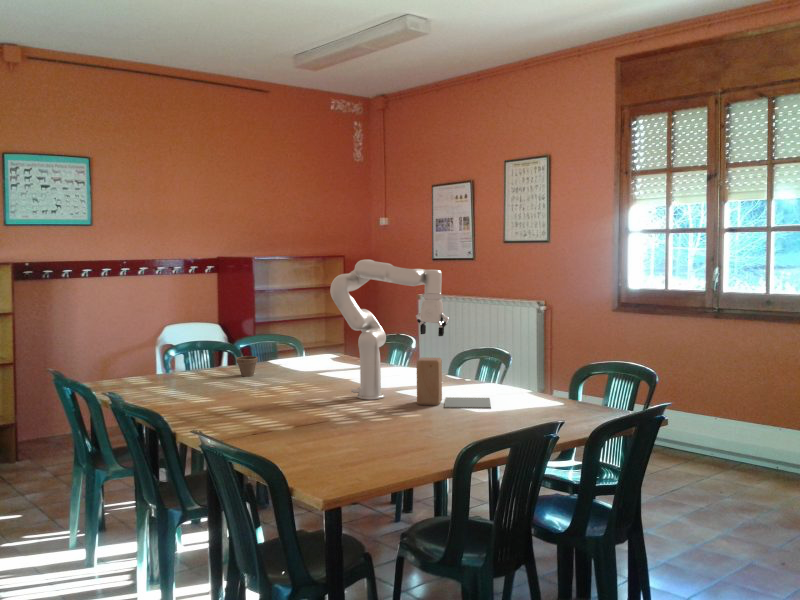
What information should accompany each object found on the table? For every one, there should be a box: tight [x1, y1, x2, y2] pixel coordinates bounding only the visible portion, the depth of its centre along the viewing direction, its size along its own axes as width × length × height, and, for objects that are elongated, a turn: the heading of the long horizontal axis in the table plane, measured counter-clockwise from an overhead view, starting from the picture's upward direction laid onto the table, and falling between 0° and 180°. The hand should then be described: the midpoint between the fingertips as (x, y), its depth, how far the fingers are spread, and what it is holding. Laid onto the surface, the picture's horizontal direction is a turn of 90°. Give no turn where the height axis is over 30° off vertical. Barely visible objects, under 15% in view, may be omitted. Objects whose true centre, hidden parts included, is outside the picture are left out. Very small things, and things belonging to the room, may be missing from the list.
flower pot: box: [236, 355, 259, 378], centre depth 420 cm, size 12×11×10 cm
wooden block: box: [416, 356, 443, 406], centre depth 343 cm, size 10×10×20 cm
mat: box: [444, 396, 492, 409], centre depth 343 cm, size 20×20×1 cm
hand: (431, 335), depth 347 cm, fingers open, 9 cm apart
